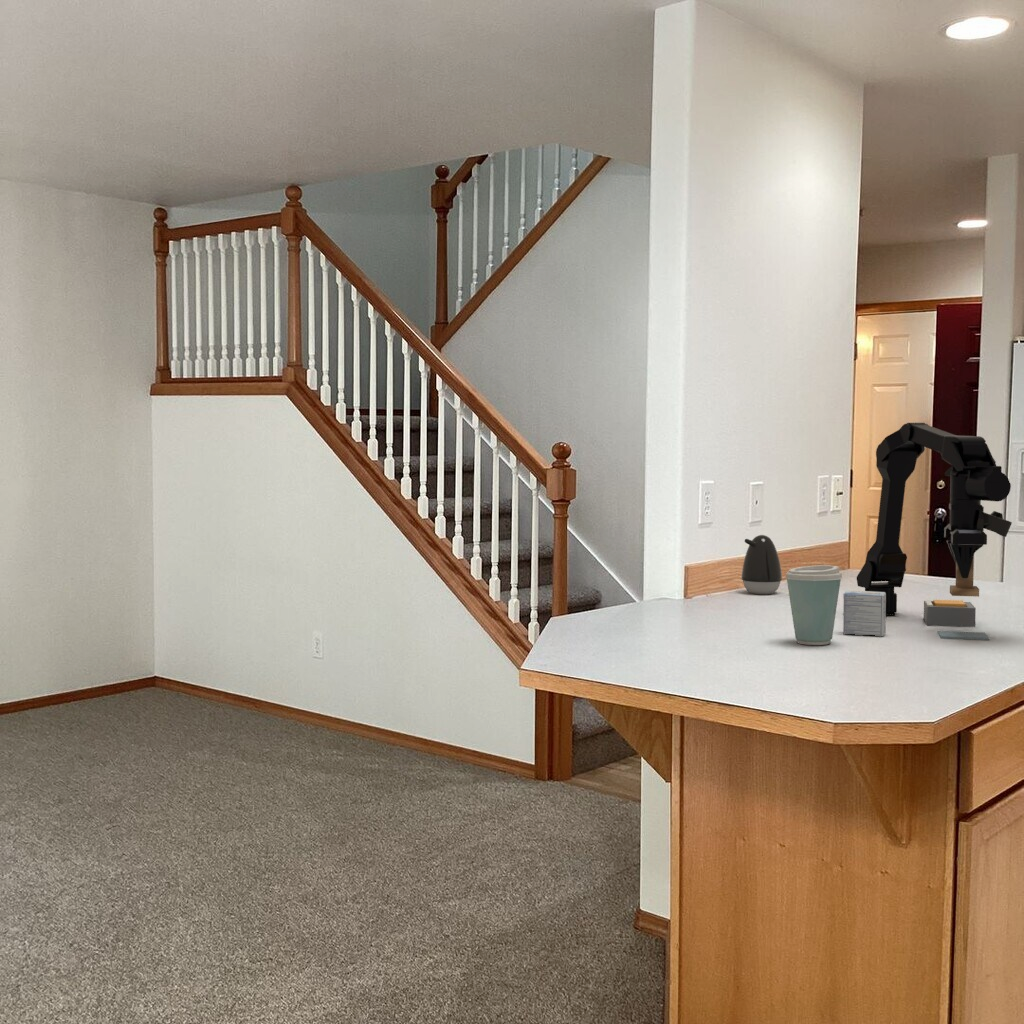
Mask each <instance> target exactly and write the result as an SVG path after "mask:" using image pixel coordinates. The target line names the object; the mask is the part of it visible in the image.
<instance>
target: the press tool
mask: <svg viewBox="0 0 1024 1024" xmlns="http://www.w3.org/2000/svg"><path fill="white" fill-rule="evenodd" d="M974 560H975V556H974V557H973V560H972V564H971V568H970V572H969V576H968V578H962V576H961V574H960V571H959V568H958V565H957V563H956V564H955V585H954V584H953V585H949V593H950V595H951V596H952V597H977V598H978V597H980V588H979V587H978V586H977V585H974V573H975V572H974V570H975V568H974V567H975V565H974Z"/></svg>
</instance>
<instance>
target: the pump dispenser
mask: <svg viewBox="0 0 1024 1024" xmlns="http://www.w3.org/2000/svg"><path fill="white" fill-rule="evenodd" d="M744 543H745V544H747V545H748V548H747V550H746V552H745V556H744V558H743V559H744V560H743V564H742V571H741V580H742V582H743V583H742V584H743V586H744V588H745V589H746V591H747V592H749V593H750V594H753V595H758V596H759V595H761V596H762V595H763V596H764V595H772V594H773V593H775V592H777V590H778V589H779V587H780V586H781V585H780V584H781V581H782V579H783V574H782V573H783V572H782V566H781V562H780V561H781V560H780V557H779V554H778V551H777V548H776V545H775V543H774V541H773V540H772V539H771V538H770V537H769V536H767V535H764V534H760V535H757V536H755V537H754V538H753V539H749V538H745V539H744Z"/></svg>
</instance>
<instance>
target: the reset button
mask: <svg viewBox="0 0 1024 1024" xmlns="http://www.w3.org/2000/svg"><path fill="white" fill-rule="evenodd" d="M932 601H933V605H934V606H952V607H966V604H965V603H964V602H965V601H964V600H962V599H961V600H960V599H958V600H957V599H956V600H955V599H953V600H952V599H933V600H932Z"/></svg>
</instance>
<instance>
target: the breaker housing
mask: <svg viewBox="0 0 1024 1024" xmlns="http://www.w3.org/2000/svg"><path fill="white" fill-rule="evenodd" d="M963 602H964V603H965V604H966V607H952V606H934V605H933V600H923V620H924V622H925V625H926V626H935V627H936V626H937V627H963V628H965V627H968V628H971V627H972V628H976V613H977V611H976V610H977V609H976V607H975V606H974V604H973V603H972V602H970V601H963Z"/></svg>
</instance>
